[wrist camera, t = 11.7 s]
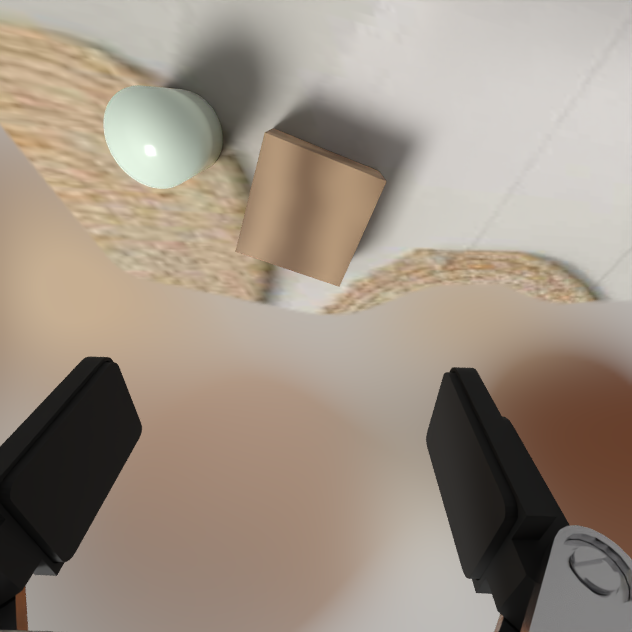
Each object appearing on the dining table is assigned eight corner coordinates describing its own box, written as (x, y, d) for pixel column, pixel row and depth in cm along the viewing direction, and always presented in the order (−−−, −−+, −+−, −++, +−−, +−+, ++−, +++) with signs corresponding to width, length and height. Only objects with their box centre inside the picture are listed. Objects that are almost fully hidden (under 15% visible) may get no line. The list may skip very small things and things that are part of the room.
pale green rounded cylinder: (217, 89, 28) (188, 86, 22) (227, 172, 31) (204, 189, 25) (140, 88, 28) (90, 84, 22) (158, 171, 31) (119, 187, 26)
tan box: (378, 170, 31) (386, 181, 27) (337, 264, 36) (339, 286, 32) (273, 127, 30) (264, 132, 25) (246, 233, 35) (235, 251, 30)
